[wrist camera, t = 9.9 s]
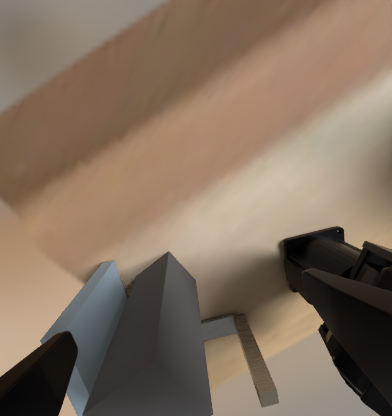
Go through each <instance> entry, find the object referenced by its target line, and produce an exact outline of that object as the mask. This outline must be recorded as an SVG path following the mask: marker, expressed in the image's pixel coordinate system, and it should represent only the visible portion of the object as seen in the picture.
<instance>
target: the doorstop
mask: <svg viewBox="0 0 392 416" xmlns="http://www.w3.org/2000/svg"><path fill="white" fill-rule="evenodd" d="M211 415H213V410H212V402H211V395H210V387H209V379H208V372H207V364H206V357H205V349H204V341H203V334H202V326H201V318H200V311H199V303H198V296H197V288H196V280H195V279H194V278H193V277H192V276H191V275H190V274H189V273H188V272H187V270H186V269H185V268H184V267H183V266H182V265H181V264H180V263H179V262H178V261H177V260H176V258H175V257H174V256H173V255H172V254H171V253H170V252H167V253H166V254H165V255H163V256H162V257H161V258H160V259H158V260H157V261H156V262H155V263H153V264H152V265H151V266H149V267H148V268H147V269H146V270H144V271H143V272H142V273H141V274H139V275H138V276H137V277H136V279H135V282H134V284H133V287H132V289H131V292H130V294H129V297H128V299H127V302H126V304H125V307H124V310H123V312H122V315H121V317H120V320H119V322H118V325H117V327H116V330H115V332H114V335H113V337H112V340H111V343H110V345H109V348H108V350H107V353H106V355H105V358H104V360H103V363H102V365H101V368H100V371H99V373H98V376H97V378H96V381H95V383H94V386H93V388H92V391H91V393H90V396H89V398H88V401H87V404H86V406H85V409H84V411H83V414H82V416H211Z"/></svg>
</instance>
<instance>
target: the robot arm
mask: <svg viewBox="0 0 392 416" xmlns="http://www.w3.org/2000/svg"><path fill="white" fill-rule="evenodd" d="M338 230H339V231H338ZM337 231H338V232H337ZM289 242H290V244H289V245H288V243H289ZM362 247H363V249H362V250H361V249H359V248H356V247H354V246H352V245H350V244H348V243H346V242H345V241H344V229H343V228H341V227H338V226H336V227H332V228H328V229H324V230H320V231H316V232H312V233H308V234H303V235H299V236H295V237H291V238H287V239H285V240H284V251H285V260H284V264H285V272H286V279H287V281H288V282H289V288H290V290H291V291H292V292H294V293H295V292H298V293H299V294H300V295H301V296H302V297H303V298H304V299H305V300H306V301H307V302H308V303H309V304H311V305H313V306H314V308H315V309H316V311H317V312H318V314H319V315H320V317H321V318H322V319H323V321H324V323H323V325H321V326H320V328H319V329H318V331H319V333H320V334H321V337H322V339H323V341H324V343H325V345H326V347H327V349H328V351H329V353H330V355H331V357H332V360H333V363H334V365H335V367H336V368H337V369H338V371H339V373H340V375H341V376H342V378H343V379H344V380H345V382H346V384H347V385H348V386H349V387H350V388H352V390H353V391H354V392H355V393H356V394H357V395H358V396H359V397H360V399H361V400H362V402H363V403H365V404H366V405H367V406H368V407H370V408H371V409H372V410H374V411H375V412H376V413H378V414H379V415H380V416H392V249H389V248H386V247H383V246H380V245H377V244H374V243H371V242H368V241H365V242H364V244H363V246H362ZM77 356H78V347H77V344H76V342H75V340H74V338H73V336H72V333H71V332H70V331H64V332H60V333H57V334H55V335H54V336H52V337H51V338H50V339H49V340H47V341H46V342H45V343H43V344H42V345H41V346H40V347H38V348H37V349H36V350H34V351H33V352H32V353H31V354H29V355H28V356H27V357H26V358H24V359H23V360H22V361H20V362H19V363H18V364H16V365H15V366H14V367H13V368H11V369H10V370H9V371H7V372H6V373H5V374H4V375H2V376H1V377H0V416H58V415H59V413H60V410H61V407H62V404H63V401H64V397H65V395H66V392H67V388H68V385H69V382H70V379H71V375H72V372H73V369H74V366H75V362H76V359H77Z"/></svg>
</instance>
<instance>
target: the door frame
mask: <svg viewBox="0 0 392 416" xmlns="http://www.w3.org/2000/svg"><path fill="white" fill-rule="evenodd" d="M201 326H202V334H203V341H207V340H211V339H215V338H219V337H223V336H227V335H231V334H234V333H237V335H238V338H239V341H240V344H241V347H242V350H243V353H244V356H245V359H246V362H247V365H248V368H249V371H250V374H251V376H252V379H253V382H254V385H255V388H256V391H257V394H258V397H259V400H260V403H261V406H262V407H266V406H270V405H273V404H277V403H279V400H278V395H277V389H276V387H275V385H274V382H273V380H272V378H271V376H270V373H269V371H268V369H267V366H266V364H265V361H264V359H263V357H262V354H261V352H260V350H259V347H258V345H257V343H256V340H255V338H254V336H253V333H252V331H251V329H250V326H249V324H248V322H247V319H246V317H245V315H244V314H242V315H239V316H235V317H234V315H233V313H232V314H228V315H224V316H220V317H216V318H212V319H208V320H204V321H201Z"/></svg>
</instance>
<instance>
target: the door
mask: <svg viewBox="0 0 392 416" xmlns="http://www.w3.org/2000/svg"><path fill="white" fill-rule="evenodd" d="M127 299H128V298H127V296H126V293H125V290H124V287H123V284H122V281H121V279H120V276H119V273H118V270H117V267H116V264H115V262H114V260H113V261H108V262H104V263H102V264H101V265H100V266H99V268H98V269H97V270H96V271H95V273H94V274H93V275H92V276H91V278H90V279H89V280H88V281H87V283H86V284H85V285H84V287H83V288H82V289H81V290H80V292H79V293H78V294H77V295H76V297H75V298H74V299H73V300H72V302H71V303H70V304H69V305H68V307H67V308H66V309H65V310H64V312H63V313H62V314H61V316H60V317H59V318H58V319H57V320H56V322H55V323H54V324H53V325H52V327H51V328H50V329H49V330H48V332H47V333H46V334H45V336H44V337H43V338H42V339H41V340H40V341H41V343H42V344H43V343H45V342H46V341H47V340H49V339H50V338H51V337H52V336H54V335H55V334H57V333H60V332H64V331H70V332H71V333H72V336H73V338H74V340H75V342H76V344H77V347H78V356H77V359H76V362H75V366H74V369H73V372H72V375H71V379H70V382H69V385H68V388H67V392H66V393H67V395H68V397H69V399H70V401H71V403H72V405H73V407H74V409H75V411H76V413H77V415H78V416H82V414H83V411H84V409H85V406H86V404H87V401H88V398H89V396H90V393H91V391H92V388H93V386H94V383H95V381H96V378H97V376H98V373H99V371H100V368H101V365H102V363H103V360H104V358H105V355H106V353H107V350H108V348H109V345H110V343H111V340H112V337H113V335H114V332H115V330H116V327H117V325H118V322H119V320H120V317H121V315H122V312H123V310H124V307H125V304H126V302H127Z"/></svg>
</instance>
